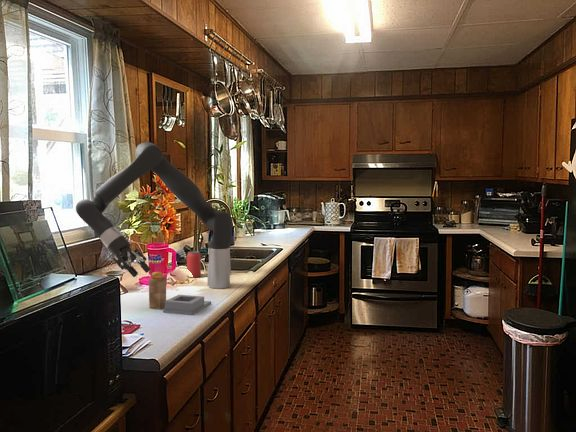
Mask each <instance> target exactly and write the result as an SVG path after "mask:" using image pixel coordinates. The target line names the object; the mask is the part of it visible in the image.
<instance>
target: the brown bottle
mask: <svg viewBox="0 0 576 432" xmlns="http://www.w3.org/2000/svg"><path fill="white" fill-rule="evenodd" d="M151 275H152V277H151V278H148V296H149V297H148V302H149V303H148V306H149V307H148V308H149V309H153V310H163V309H165V301H166V300H167V277H165V276H164V277H163V272H162V271H154V272H152V273H151Z"/></svg>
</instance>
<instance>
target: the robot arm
mask: <svg viewBox="0 0 576 432" xmlns="http://www.w3.org/2000/svg"><path fill="white" fill-rule="evenodd" d="M135 156H136V158H135V159H134V160H133V161H132V162H131V163H130V164H129V165H127V166H126V167H125V168H123V169H121V171H119V172H117V173H116V174H114V175H112V176H111V177H110V178H108V179H107V180H106V181H105V182H103V183H102V184H101V185H100V186H99V187H98V188H97V189H96V190H95V192H94V193H95V196H94V197H93V198H92V199H91V200H90V199H87V198H86V199H81V200H79V201H78V202H77V203H76V206H75V212H76V214H77V216H79V218H81V220H82V221H83V222H85V224H87V225H88V227H89V228H91V230H93V232H94V234H95V235H96V236H97V237H98V238H99V240H101V242H102V244H103V245H104V246H105V248H106V249H108V251H109V252H110V253H111V254H112V255H113V257H112V259H113V261H114V262H115V264H116V265H117V266H118V267H119V268H120V270H122V271H124V270H125V271H127V272H128V273H129V274H130V276H131V277H133V278H135V277H136V278H137V276H138V275H139V272H138V271H137V269H136V268H134V266H133V265H132V263H133V264H137V265H139V266H140V267H141V269H142V270H143V271H144V272H145V273H146V274H147V273H148V274H149V272H150V271H151V268H150V267H149V265H148V264H147V263H146V261H147V257H146V256H145V255H144V254H143V253H142V252H141V251H140V249H138V248H135V249H132V248H131V245H132V244H131V242H130V241H129V240H128V238H127V237H126V236H125V235H124V234H123V233H122V232H121V231H120V229H118V228H117V227H116V226H115V224H113V223H112V222H111V220H110V219H109V218H107V217H106V216H105V215H104V214H103V213H104V212H105V210H106V209H107V208H108V206H109V205H110V203H112V202H113V201H114V200H115V199H117V198H118V197H119V195H121V194H122V193H123V192H124V191H125V190H126V189H128V187H130V186H131V185H132V184H133V183H134V182H136V181H137V180H138V179H140V178H141V177H142V176H144V175H145V174H146V173H148V172H150V171H152V172H153V174H155V175H156V176H157V177H158V178H159V180H160V181H161V182H162V183H163V184H164V185H165V186H166V188H167V189H168V190H169V191H170V192H171V193H172V194H173V195H174V196H175V197H176V198H177V199H178V200H179V201H180V202H182V203H183V204H184V205H185V206H186V207H187V208H188V209H189V210H190V211H192V212H193V213H194V214H195V215H196V216H197V217H198V218H199V219H200V221H201V222H202V223H203V224H204V225H205V226H206V228H207V229H209V230H210V231H212V232H213V233H212V239H210V240H209V241H208V264H207V286H208V287H209V288H210V289H227V288H230V287H231V274H230V263H231V258H230V257H231V243H232V239H233V238H232V237H233V219H232V215H230V214H229V212H227V211H222V210H217V209H215V207H213V206H212V205H211V204H210V203H209V202H207V200H206V198H205V197H204V195H203V193H202V191H201V189H200V188H199V186H198V185H197V184H196V183H195V182H194V181H193V180H192V179H191V178H190V177H188V175H186V174H185V173H184V172H183V171H182V170H180V169H178V168H177V167H176V166H174V165H173V164H172V163H170V162H169V160H168V159H167V158H166V157H165V156H164V153H163V150H162V149H161V147H159V146H158V145H157V144H156V143H153V142H150V141H149V142H148V141H143V142H141V143H139V144H138V145H137V146H136V150H135Z"/></svg>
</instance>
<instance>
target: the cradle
mask: <svg viewBox="0 0 576 432" xmlns="http://www.w3.org/2000/svg"><path fill="white" fill-rule="evenodd" d="M210 305H212V301H211V300H205V296H200V295H190V294H189V295H188V294H177V295H175V296H173V297H171V298H169V299H166V301H165V307H164V308H162V313H163V314H175V315H176V314H177V315H186V314H187V316H193V315H195V314H197V313H199V312H200V311H202V310H203V309H205V308H207V307H209V306H210Z"/></svg>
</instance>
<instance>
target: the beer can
mask: <svg viewBox="0 0 576 432" xmlns="http://www.w3.org/2000/svg"><path fill="white" fill-rule="evenodd" d="M201 258H202V257H201V252H200V251H199V250H191V251H188V252H187V255H186V270H187V269H188V270H189V271H190V272H191V273H192V275H193V277H194V279H196V278H200V277H201V276H202V269H201V268H202V265H201V261H202V259H201Z"/></svg>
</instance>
